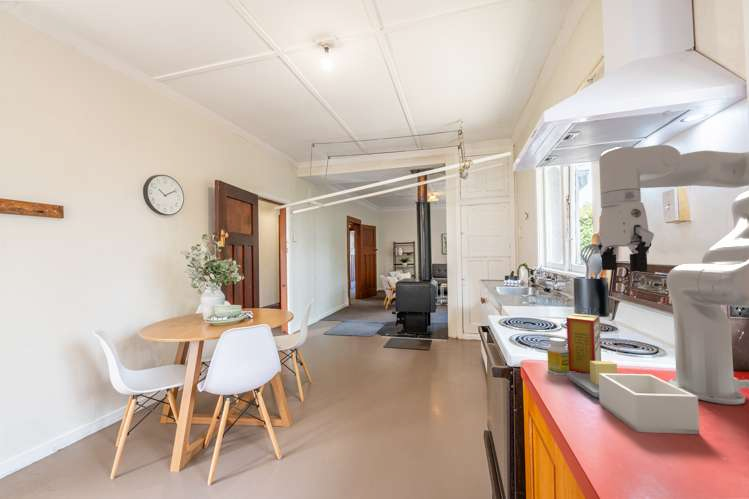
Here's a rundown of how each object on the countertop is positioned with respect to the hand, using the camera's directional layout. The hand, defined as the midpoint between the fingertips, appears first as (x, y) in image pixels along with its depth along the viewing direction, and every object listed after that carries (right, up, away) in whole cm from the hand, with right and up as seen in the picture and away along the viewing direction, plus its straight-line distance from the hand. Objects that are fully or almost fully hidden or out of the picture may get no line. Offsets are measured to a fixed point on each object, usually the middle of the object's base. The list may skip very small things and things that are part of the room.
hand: (623, 270), depth 72 cm
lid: (-2, -30, +3) cm, 30 cm away
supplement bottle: (-6, -31, +16) cm, 35 cm away
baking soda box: (+3, -31, +18) cm, 36 cm away
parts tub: (-3, -30, -10) cm, 32 cm away
